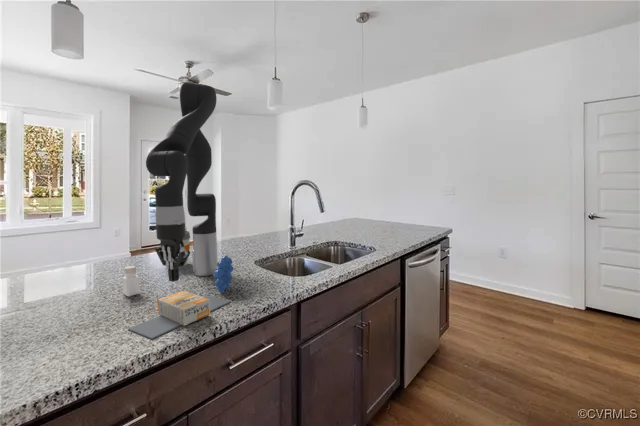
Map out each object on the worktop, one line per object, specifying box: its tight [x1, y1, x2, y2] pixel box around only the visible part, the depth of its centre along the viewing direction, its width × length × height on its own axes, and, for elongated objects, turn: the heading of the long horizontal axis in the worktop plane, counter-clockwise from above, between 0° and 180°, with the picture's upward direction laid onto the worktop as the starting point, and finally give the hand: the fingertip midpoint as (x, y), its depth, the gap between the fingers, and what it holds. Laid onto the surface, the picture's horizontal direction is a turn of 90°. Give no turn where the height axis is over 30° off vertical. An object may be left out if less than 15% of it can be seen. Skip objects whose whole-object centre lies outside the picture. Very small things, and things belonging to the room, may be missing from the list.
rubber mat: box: [128, 295, 231, 340], centre depth 88 cm, size 10×26×1 cm, turn 151°
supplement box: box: [157, 290, 211, 326], centre depth 87 cm, size 8×5×13 cm
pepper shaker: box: [122, 265, 141, 297], centre depth 104 cm, size 4×4×10 cm
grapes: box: [213, 255, 235, 293], centre depth 108 cm, size 12×7×12 cm, turn 174°
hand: (174, 280), depth 89 cm, fingers closed
